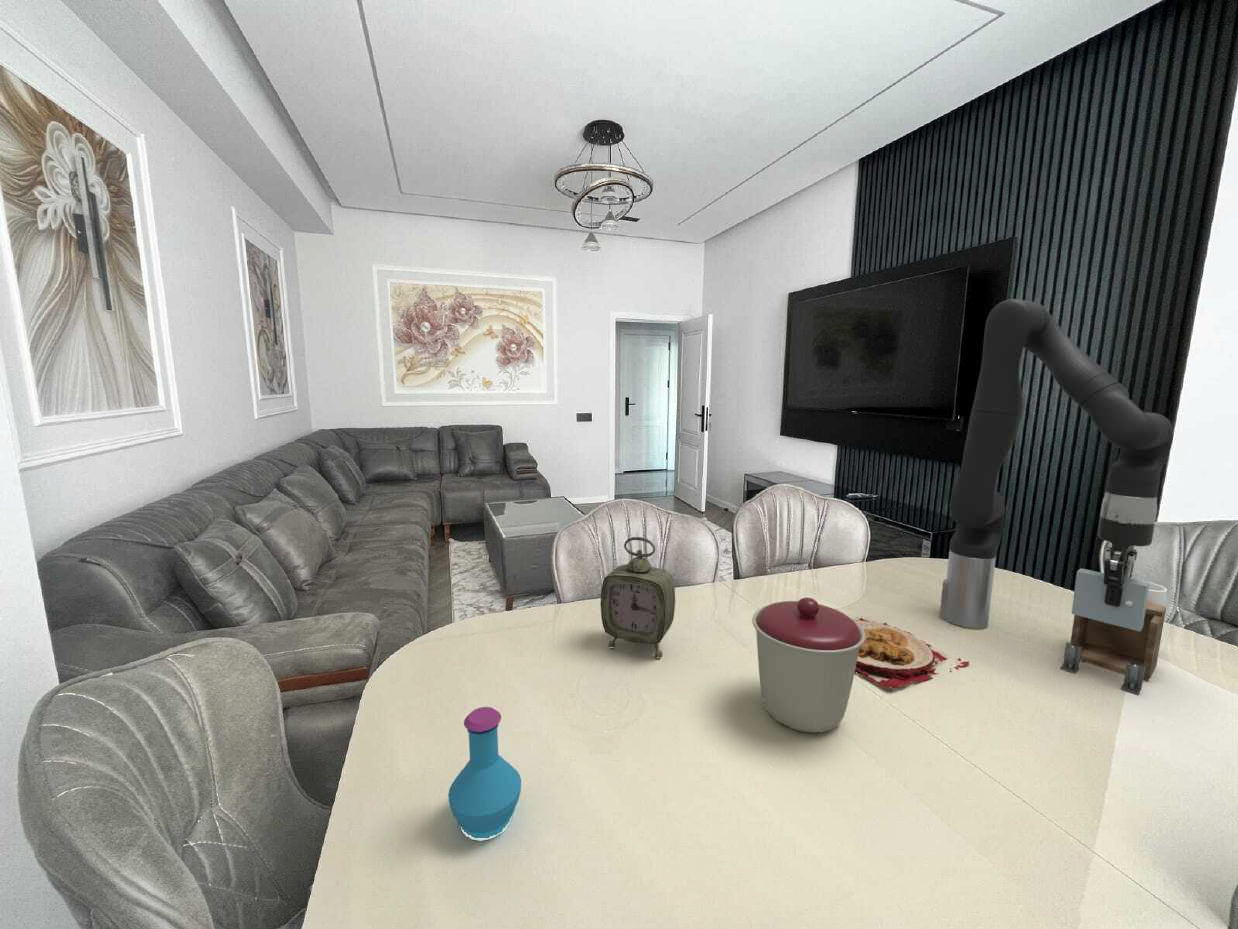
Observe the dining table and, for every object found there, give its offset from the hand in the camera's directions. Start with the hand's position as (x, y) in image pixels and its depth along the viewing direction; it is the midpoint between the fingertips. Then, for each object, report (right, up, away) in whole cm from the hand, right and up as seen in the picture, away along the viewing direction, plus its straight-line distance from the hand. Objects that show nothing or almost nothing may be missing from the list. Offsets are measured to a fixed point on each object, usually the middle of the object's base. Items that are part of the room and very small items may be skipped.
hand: (1114, 602), depth 101 cm
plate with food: (-41, -14, +12) cm, 45 cm away
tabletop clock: (-93, -13, +12) cm, 95 cm away
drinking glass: (+15, -14, +11) cm, 23 cm away
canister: (-65, -17, -11) cm, 68 cm away
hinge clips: (-2, -15, 0) cm, 15 cm away
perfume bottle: (-115, -20, -33) cm, 121 cm away
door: (0, -4, +1) cm, 4 cm away
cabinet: (+6, -14, +6) cm, 16 cm away
